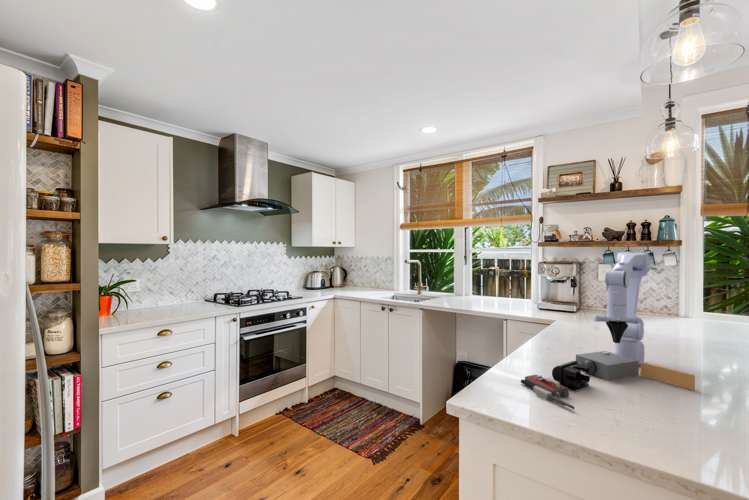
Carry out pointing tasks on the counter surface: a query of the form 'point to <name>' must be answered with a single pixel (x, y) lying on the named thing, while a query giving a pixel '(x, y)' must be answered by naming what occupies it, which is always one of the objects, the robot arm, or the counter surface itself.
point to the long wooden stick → (668, 375)
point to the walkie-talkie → (547, 388)
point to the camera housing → (608, 365)
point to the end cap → (571, 375)
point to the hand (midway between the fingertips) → (616, 342)
